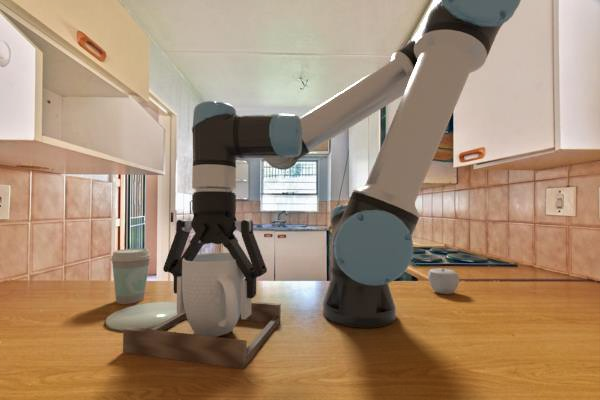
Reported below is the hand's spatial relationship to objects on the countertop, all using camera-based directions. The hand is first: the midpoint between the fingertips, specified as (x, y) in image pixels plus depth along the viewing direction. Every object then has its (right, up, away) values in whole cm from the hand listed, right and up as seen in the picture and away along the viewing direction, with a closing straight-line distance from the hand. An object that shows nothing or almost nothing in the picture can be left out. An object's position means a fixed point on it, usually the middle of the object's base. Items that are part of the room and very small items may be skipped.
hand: (214, 314), depth 52 cm
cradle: (0, -4, 0) cm, 4 cm away
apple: (+54, -5, +28) cm, 62 cm away
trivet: (-16, -4, +9) cm, 18 cm away
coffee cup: (-26, -4, +19) cm, 32 cm away
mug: (0, -3, 0) cm, 3 cm away
